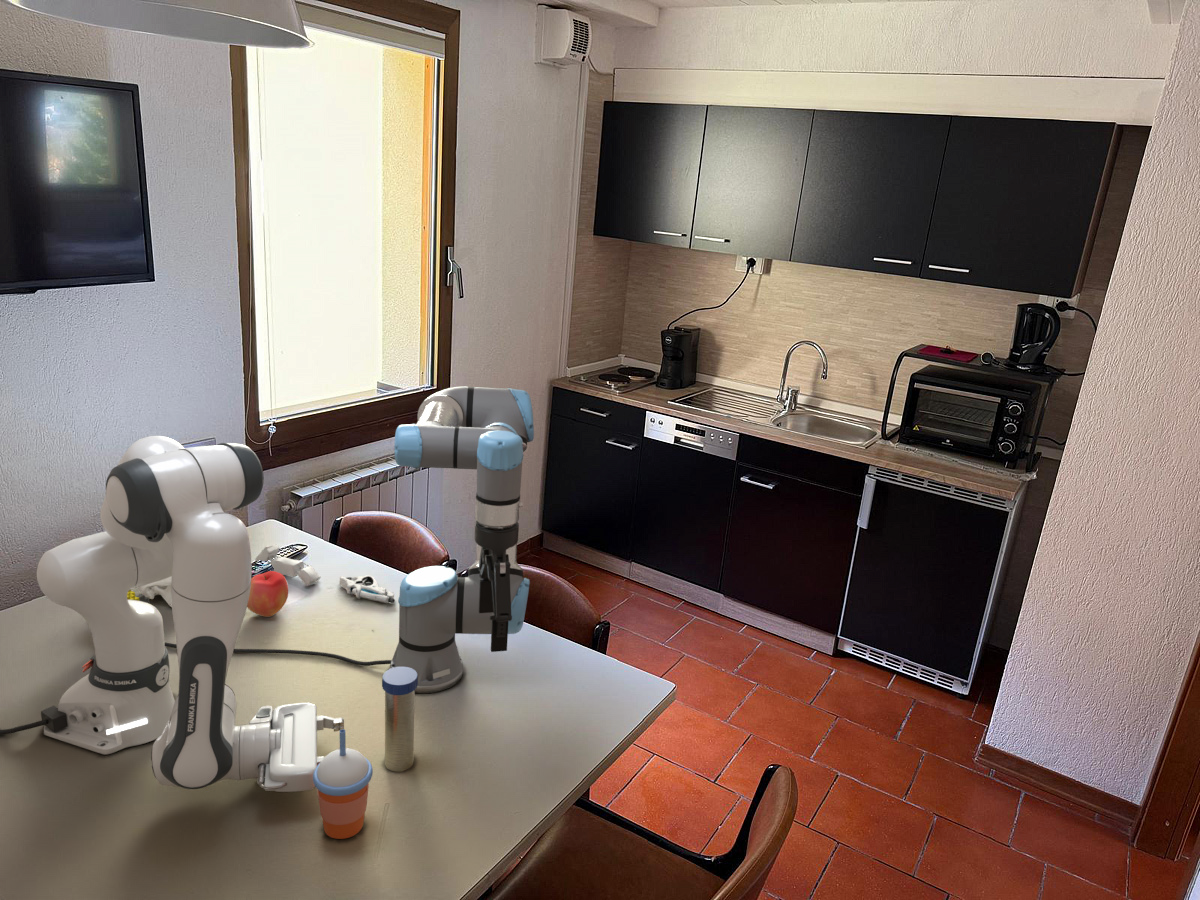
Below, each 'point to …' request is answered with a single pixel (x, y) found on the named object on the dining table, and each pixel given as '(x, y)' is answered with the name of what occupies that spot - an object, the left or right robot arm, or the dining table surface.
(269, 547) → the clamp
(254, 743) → the left robot arm
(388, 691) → the lid
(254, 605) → the apple
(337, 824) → the cup with straw
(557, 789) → the dining table surface
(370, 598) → the toy gun
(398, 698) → the silver metal cylinder
